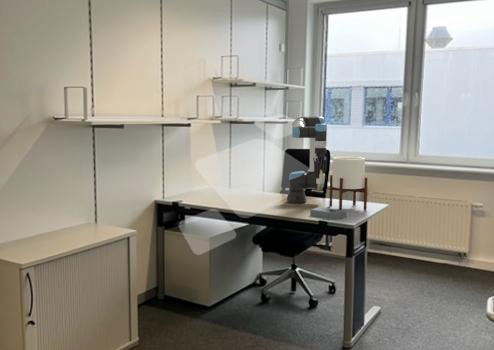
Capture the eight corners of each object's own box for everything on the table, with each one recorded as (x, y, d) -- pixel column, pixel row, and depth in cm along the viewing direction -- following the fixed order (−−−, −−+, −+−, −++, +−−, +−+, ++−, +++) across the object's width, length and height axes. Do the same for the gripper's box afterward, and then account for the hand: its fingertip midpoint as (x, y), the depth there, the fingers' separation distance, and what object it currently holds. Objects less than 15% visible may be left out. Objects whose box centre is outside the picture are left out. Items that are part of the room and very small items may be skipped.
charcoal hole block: (310, 215, 320) (310, 209, 320) (320, 212, 329) (320, 207, 329) (337, 219, 308) (337, 213, 307) (346, 216, 317) (346, 210, 316)
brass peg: (316, 190, 320) (316, 169, 319) (319, 190, 322) (319, 169, 321) (320, 191, 318) (320, 170, 317) (322, 190, 320) (323, 169, 319)
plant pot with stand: (369, 210, 340) (370, 159, 335) (338, 211, 335) (340, 159, 331) (355, 204, 361) (357, 156, 357) (327, 205, 357) (328, 156, 352)
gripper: (318, 148, 309) (317, 184, 311) (332, 147, 321) (331, 182, 323) (308, 147, 314) (308, 183, 316) (322, 146, 326) (321, 181, 328)
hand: (319, 183), depth 320 cm, fingers closed on brass peg, 3 cm apart
